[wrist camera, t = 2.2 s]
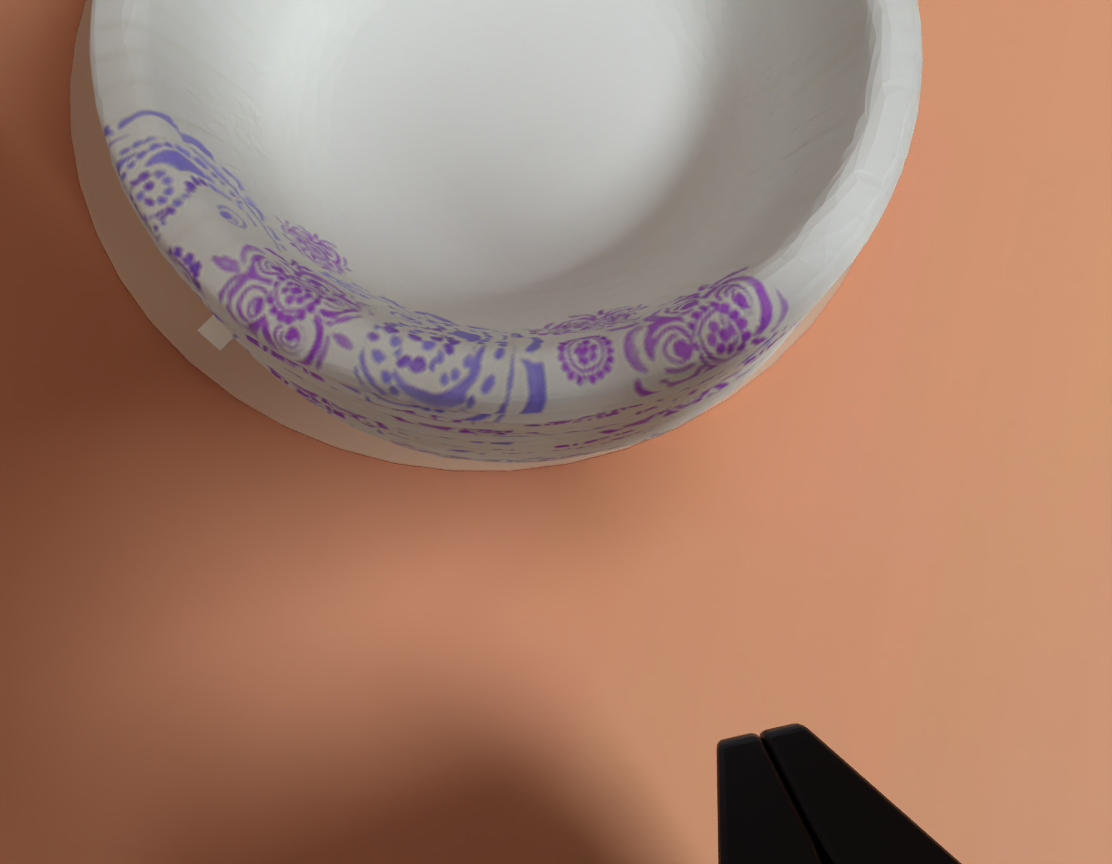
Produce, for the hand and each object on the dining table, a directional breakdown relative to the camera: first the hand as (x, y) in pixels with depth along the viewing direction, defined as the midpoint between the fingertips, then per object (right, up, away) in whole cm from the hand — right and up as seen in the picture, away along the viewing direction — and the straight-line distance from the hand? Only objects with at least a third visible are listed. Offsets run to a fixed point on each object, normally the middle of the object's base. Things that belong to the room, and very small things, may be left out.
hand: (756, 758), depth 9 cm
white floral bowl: (-3, +9, +16) cm, 18 cm away
